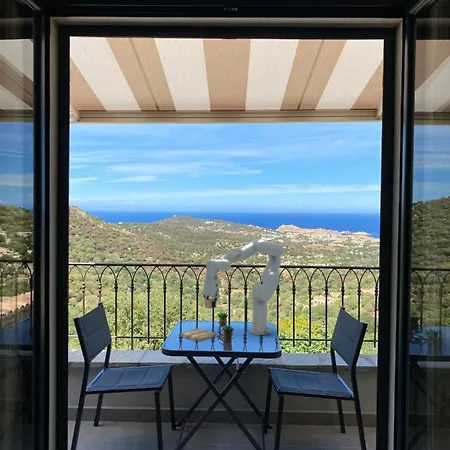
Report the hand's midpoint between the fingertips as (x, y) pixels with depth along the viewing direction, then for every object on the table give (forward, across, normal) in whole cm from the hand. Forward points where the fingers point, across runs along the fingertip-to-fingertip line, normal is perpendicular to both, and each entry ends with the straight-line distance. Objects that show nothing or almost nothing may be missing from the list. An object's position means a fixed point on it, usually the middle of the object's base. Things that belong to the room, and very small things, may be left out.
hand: (210, 306), depth 251 cm
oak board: (+18, +2, +7) cm, 20 cm away
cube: (+1, 0, 0) cm, 1 cm away
